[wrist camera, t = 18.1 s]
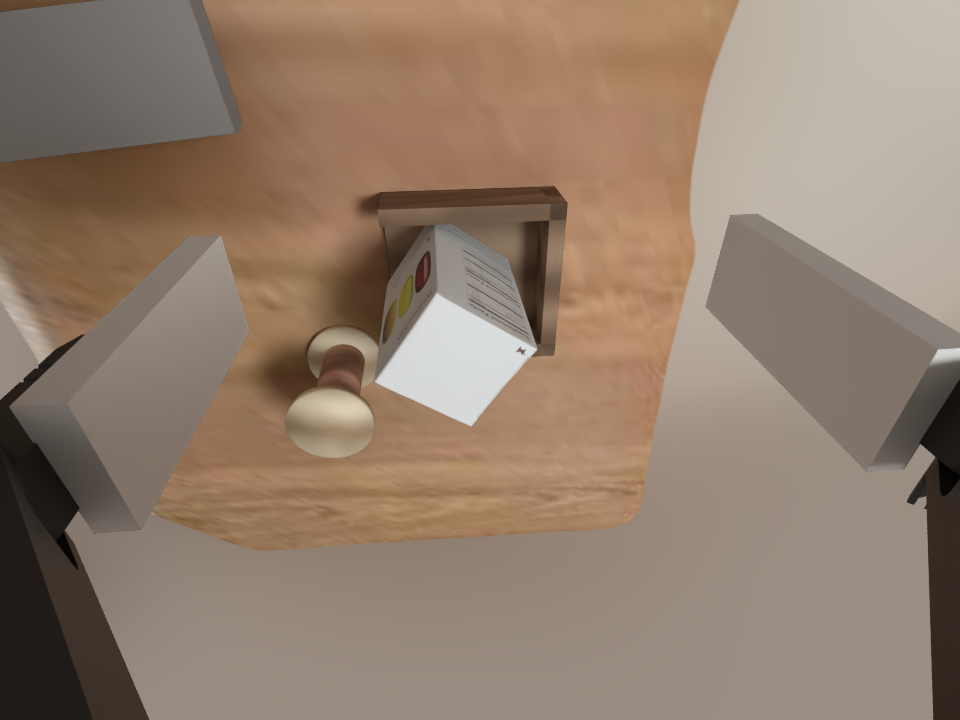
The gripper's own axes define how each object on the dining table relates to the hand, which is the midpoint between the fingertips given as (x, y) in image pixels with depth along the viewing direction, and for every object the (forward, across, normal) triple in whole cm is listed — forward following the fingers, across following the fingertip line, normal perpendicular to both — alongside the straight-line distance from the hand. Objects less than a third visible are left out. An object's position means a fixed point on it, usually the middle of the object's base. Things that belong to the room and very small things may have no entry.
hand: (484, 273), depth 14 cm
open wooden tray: (+37, +2, -16) cm, 40 cm away
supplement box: (+36, 0, -16) cm, 40 cm away
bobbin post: (+37, -12, -26) cm, 47 cm away
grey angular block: (+37, -27, +2) cm, 46 cm away
